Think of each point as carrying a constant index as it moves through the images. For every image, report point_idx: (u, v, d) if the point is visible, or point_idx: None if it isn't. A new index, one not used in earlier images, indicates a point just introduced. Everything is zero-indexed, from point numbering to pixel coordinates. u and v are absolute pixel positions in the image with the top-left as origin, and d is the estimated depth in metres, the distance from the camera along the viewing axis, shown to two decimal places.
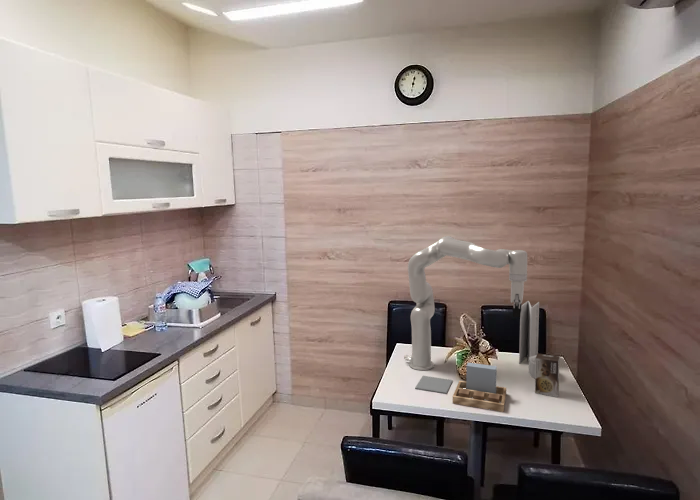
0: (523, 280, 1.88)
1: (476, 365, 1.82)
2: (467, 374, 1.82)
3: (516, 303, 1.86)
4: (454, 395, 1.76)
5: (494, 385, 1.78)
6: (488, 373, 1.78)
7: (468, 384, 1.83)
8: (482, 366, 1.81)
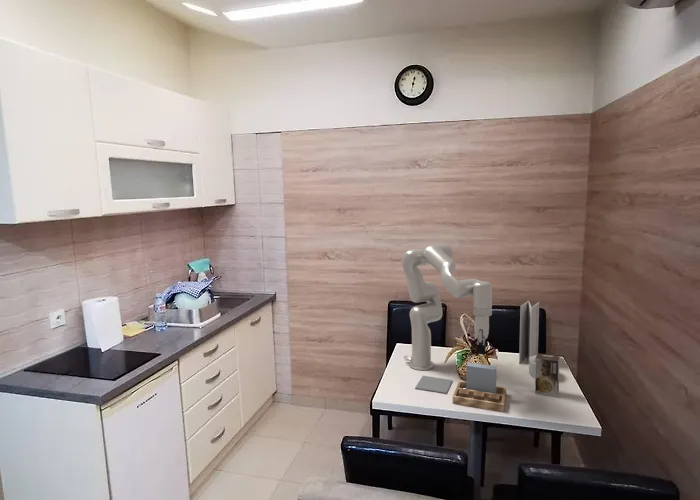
0: (487, 314, 1.75)
1: (476, 365, 1.82)
2: (467, 374, 1.82)
3: (479, 340, 1.72)
4: (454, 395, 1.76)
5: (494, 385, 1.78)
6: (488, 373, 1.78)
7: (468, 384, 1.83)
8: (482, 366, 1.81)
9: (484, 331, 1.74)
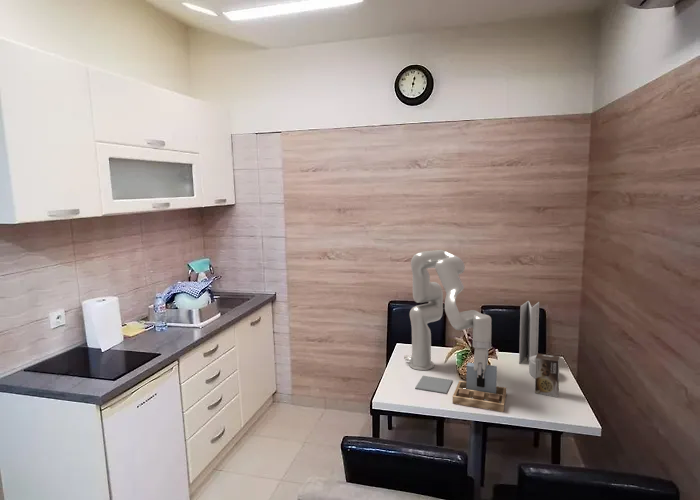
0: (487, 348, 1.77)
1: None
2: (467, 374, 1.82)
3: (479, 375, 1.76)
4: (454, 395, 1.76)
5: (494, 385, 1.78)
6: (488, 373, 1.78)
7: (468, 384, 1.83)
8: None
9: (483, 364, 1.76)
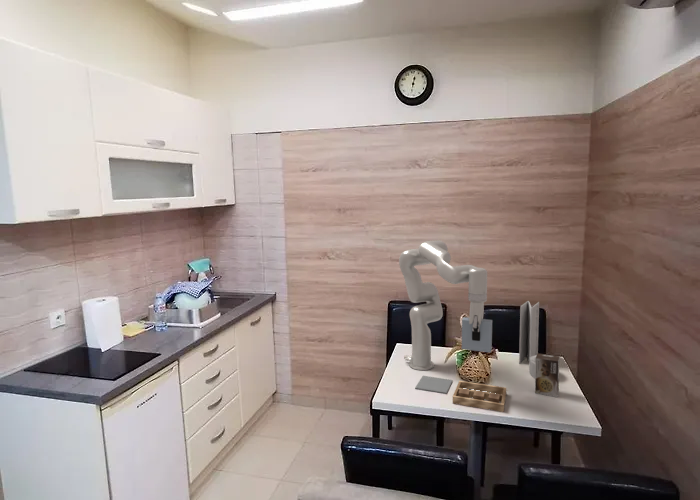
0: (482, 300, 1.75)
1: None
2: (462, 328, 1.81)
3: (475, 328, 1.75)
4: (454, 395, 1.76)
5: (490, 338, 1.77)
6: (484, 326, 1.77)
7: (463, 338, 1.81)
8: None
9: (479, 317, 1.75)
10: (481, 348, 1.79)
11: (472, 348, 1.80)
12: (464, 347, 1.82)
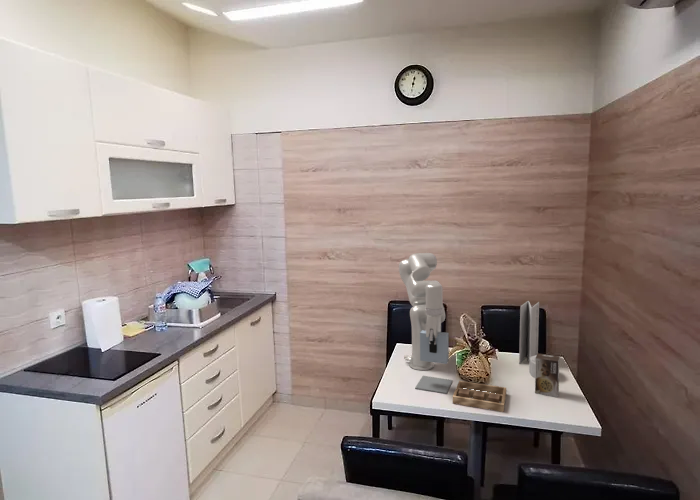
0: (438, 314, 1.86)
1: None
2: (421, 341, 1.91)
3: (431, 341, 1.85)
4: (454, 395, 1.76)
5: (445, 350, 1.87)
6: (440, 339, 1.87)
7: (422, 350, 1.91)
8: None
9: (434, 330, 1.85)
10: (437, 359, 1.89)
11: (430, 360, 1.90)
12: (422, 359, 1.92)
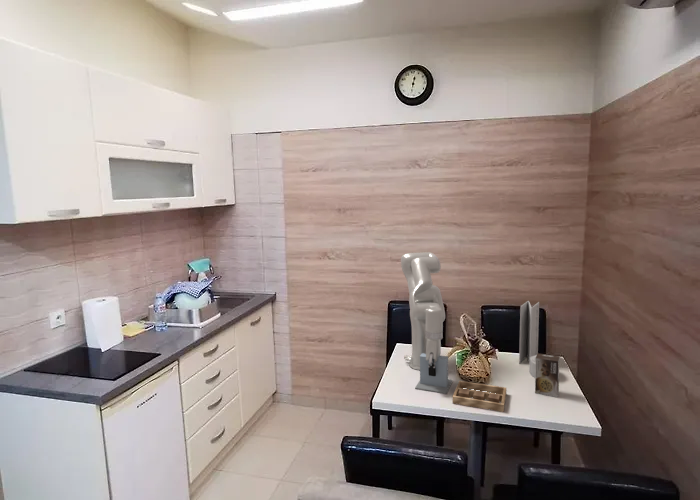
0: (438, 338, 1.87)
1: None
2: (420, 364, 1.93)
3: (430, 364, 1.85)
4: (454, 395, 1.76)
5: (445, 374, 1.89)
6: (439, 363, 1.89)
7: (421, 373, 1.93)
8: None
9: (434, 354, 1.86)
10: (437, 383, 1.91)
11: (429, 383, 1.92)
12: (422, 382, 1.93)
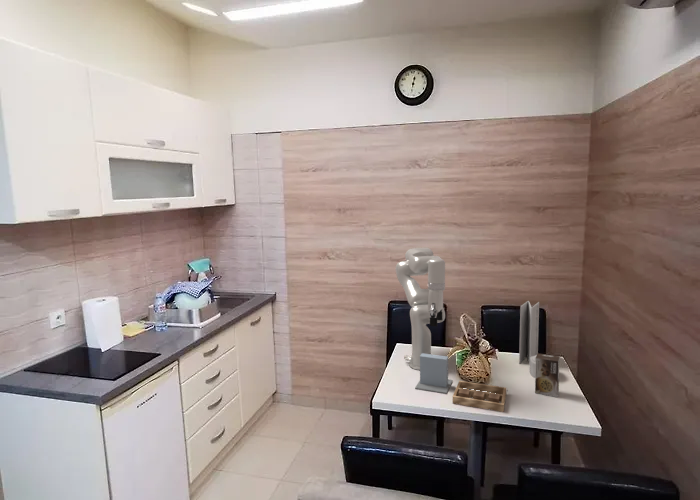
0: (440, 289, 1.86)
1: (429, 356, 1.92)
2: (420, 364, 1.93)
3: (431, 312, 1.84)
4: (454, 395, 1.76)
5: (445, 374, 1.89)
6: (439, 363, 1.89)
7: (421, 373, 1.93)
8: (434, 356, 1.91)
9: (436, 305, 1.86)
10: (437, 383, 1.91)
11: (429, 383, 1.92)
12: (422, 382, 1.93)
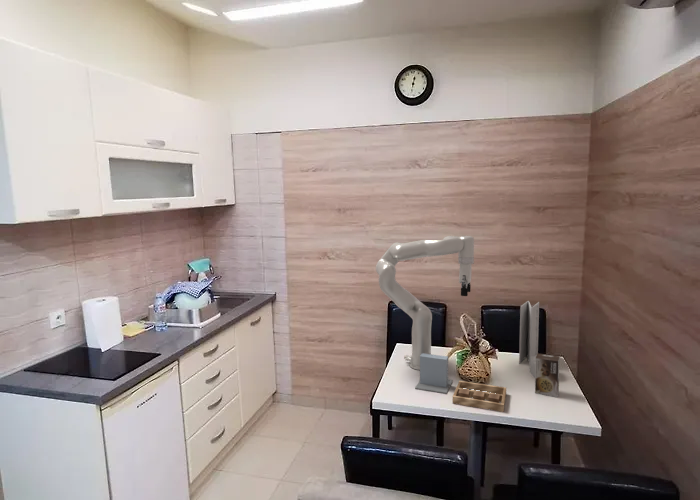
0: (470, 263, 2.09)
1: (429, 356, 1.92)
2: (420, 364, 1.93)
3: (463, 283, 2.06)
4: (454, 395, 1.76)
5: (445, 374, 1.89)
6: (439, 363, 1.89)
7: (421, 373, 1.93)
8: (434, 356, 1.91)
9: (467, 276, 2.08)
10: (437, 383, 1.91)
11: (429, 383, 1.92)
12: (422, 382, 1.93)
